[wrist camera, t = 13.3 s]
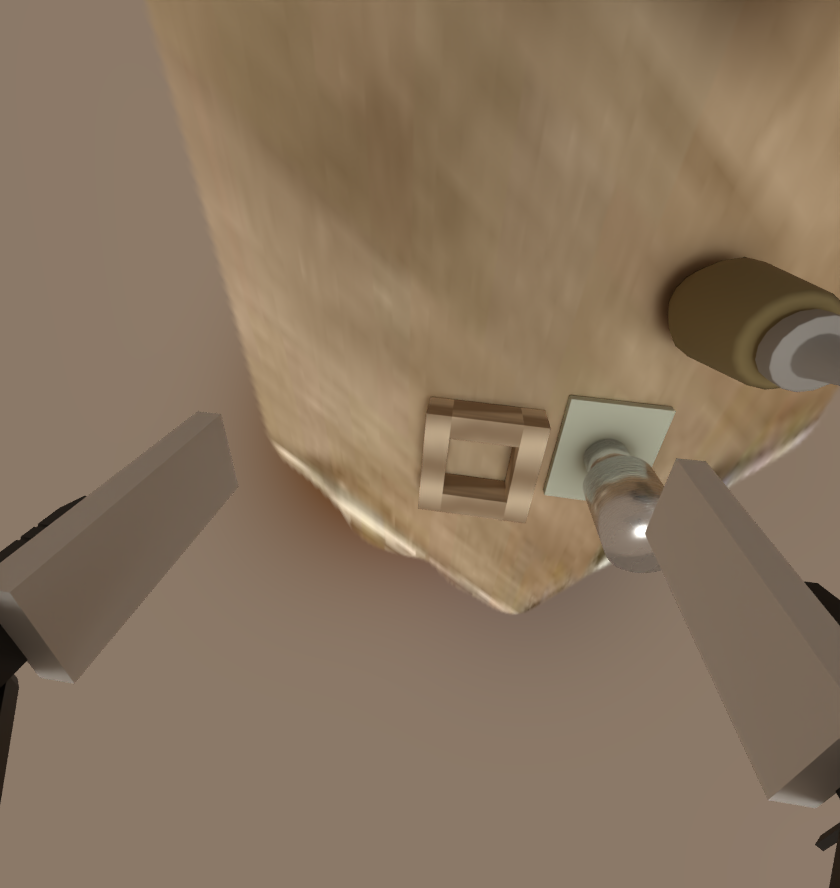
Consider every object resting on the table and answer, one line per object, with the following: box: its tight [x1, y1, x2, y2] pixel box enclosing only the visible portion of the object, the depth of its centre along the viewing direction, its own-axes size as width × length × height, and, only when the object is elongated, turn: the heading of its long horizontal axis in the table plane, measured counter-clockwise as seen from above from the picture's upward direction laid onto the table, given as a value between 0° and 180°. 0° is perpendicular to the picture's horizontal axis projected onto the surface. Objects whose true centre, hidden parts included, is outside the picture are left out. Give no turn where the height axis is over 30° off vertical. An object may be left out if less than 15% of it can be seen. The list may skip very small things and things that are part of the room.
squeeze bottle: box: [668, 257, 840, 392], centre depth 29 cm, size 8×8×18 cm
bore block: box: [418, 397, 551, 523], centre depth 45 cm, size 12×12×4 cm
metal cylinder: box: [583, 438, 664, 573], centre depth 39 cm, size 6×6×13 cm
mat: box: [543, 395, 676, 500], centre depth 45 cm, size 12×10×1 cm
